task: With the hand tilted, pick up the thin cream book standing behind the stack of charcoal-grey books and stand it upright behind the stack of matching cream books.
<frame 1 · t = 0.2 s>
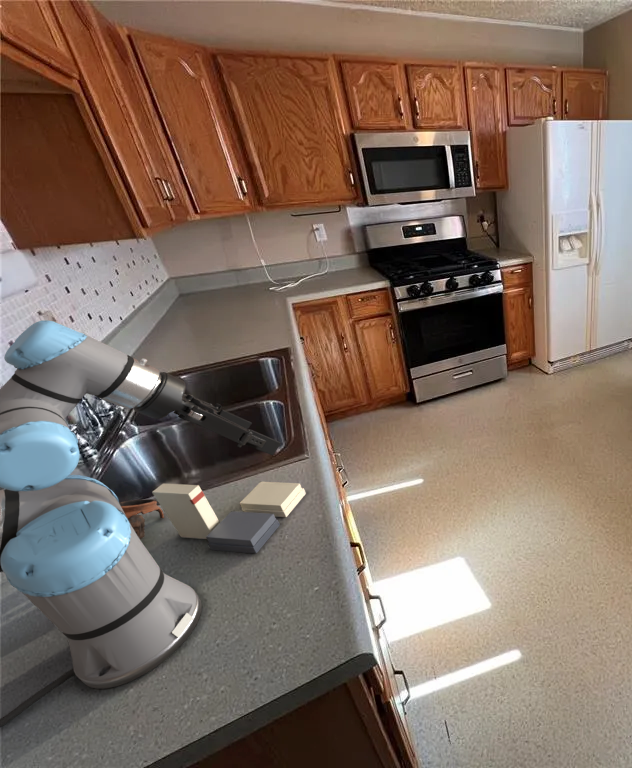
hand: (261, 438, 85), 15 cm above the worktop, tool tilted 35°, fingers open, 13 cm apart
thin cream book: (202, 533, 83), on the worktop
cream books: (275, 503, 89), on the worktop
brown footed bowl: (139, 534, 85), on the worktop
grey books: (246, 537, 82), on the worktop
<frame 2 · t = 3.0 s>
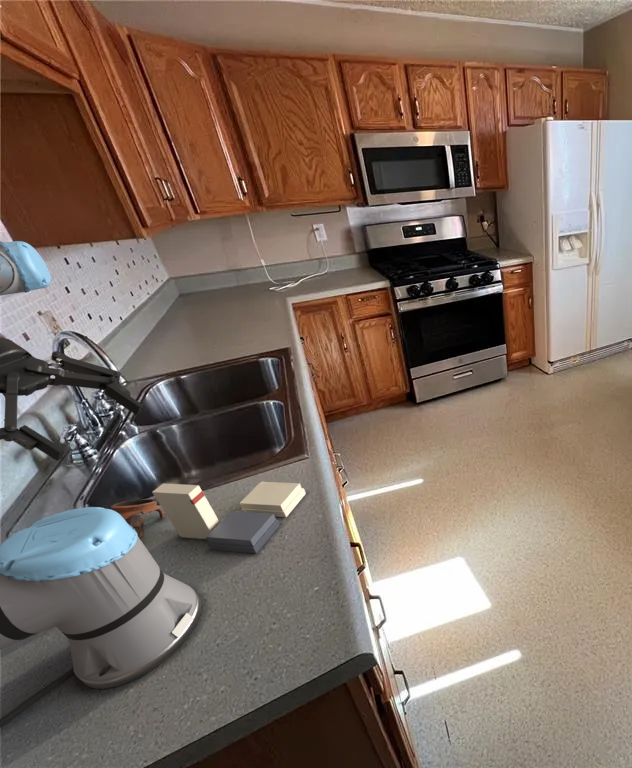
hand: (103, 431, 73), 25 cm above the worktop, tool tilted 45°, fingers open, 13 cm apart
nothing on the worktop moved.
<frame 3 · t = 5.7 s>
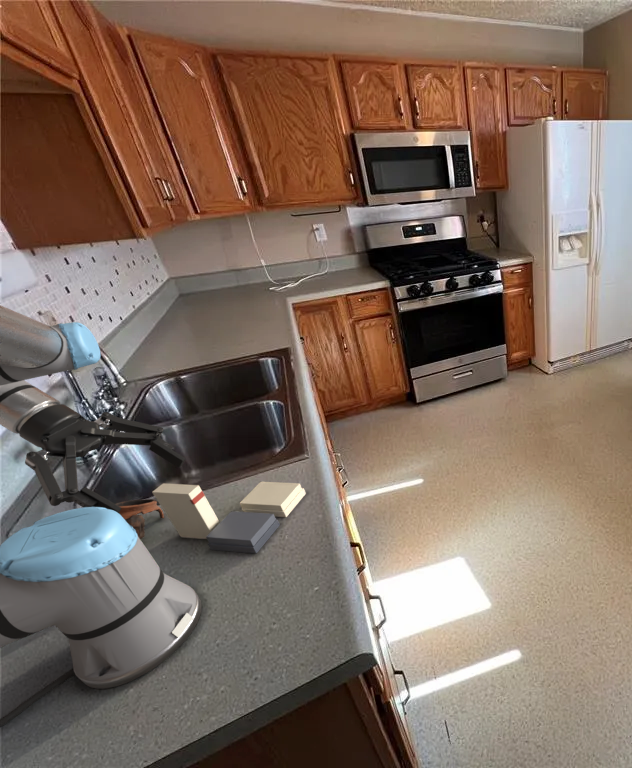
hand: (152, 486, 79), 12 cm above the worktop, tool tilted 45°, fingers open, 13 cm apart
nothing on the worktop moved.
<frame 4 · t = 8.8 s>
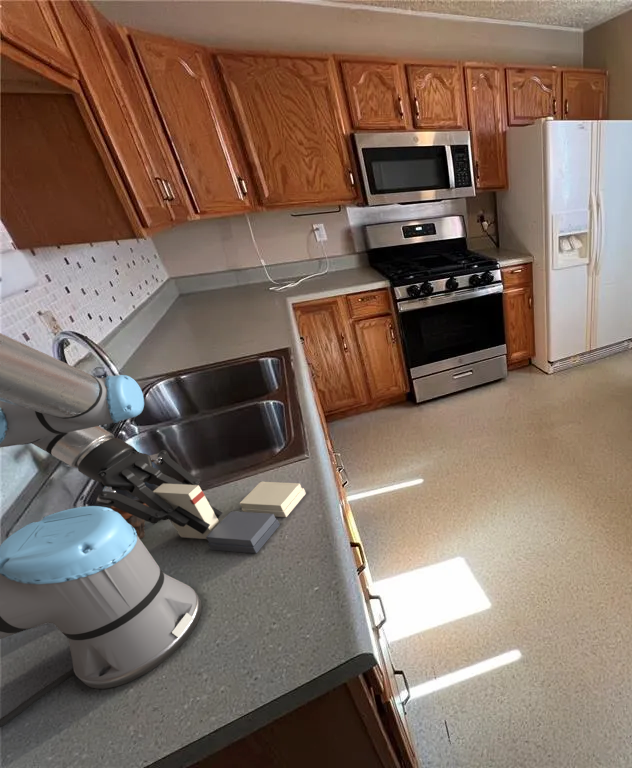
hand: (212, 523, 81), 3 cm above the worktop, tool tilted 45°, fingers closed on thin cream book, 2 cm apart
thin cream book: (202, 533, 83), on the worktop, touching gripper
everything else where it was.
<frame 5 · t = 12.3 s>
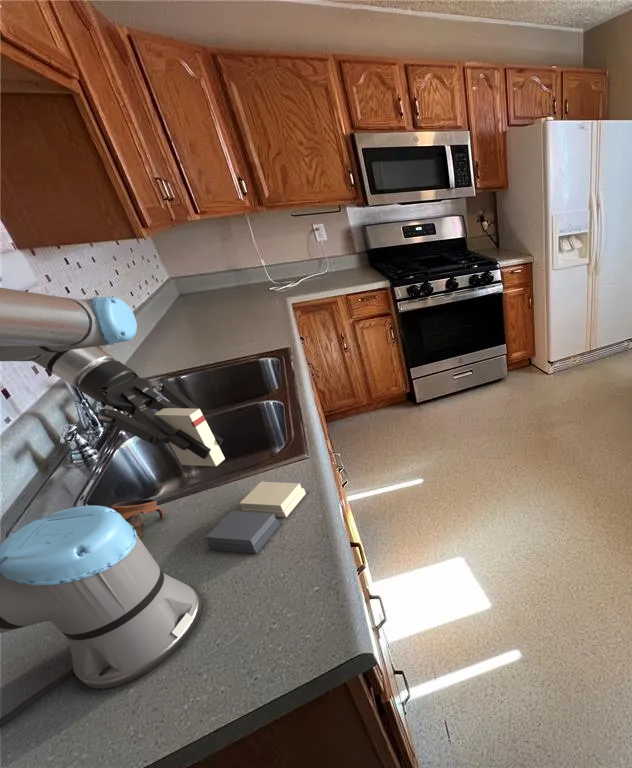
hand: (213, 449, 81), 16 cm above the worktop, tool tilted 45°, fingers closed on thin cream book, 2 cm apart
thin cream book: (203, 461, 83), point 13 cm above the worktop, touching gripper
everything else where it was.
when the fingers open (3 cm above the worktop, at t = 16.0 s): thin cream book stays where it is, on the worktop.
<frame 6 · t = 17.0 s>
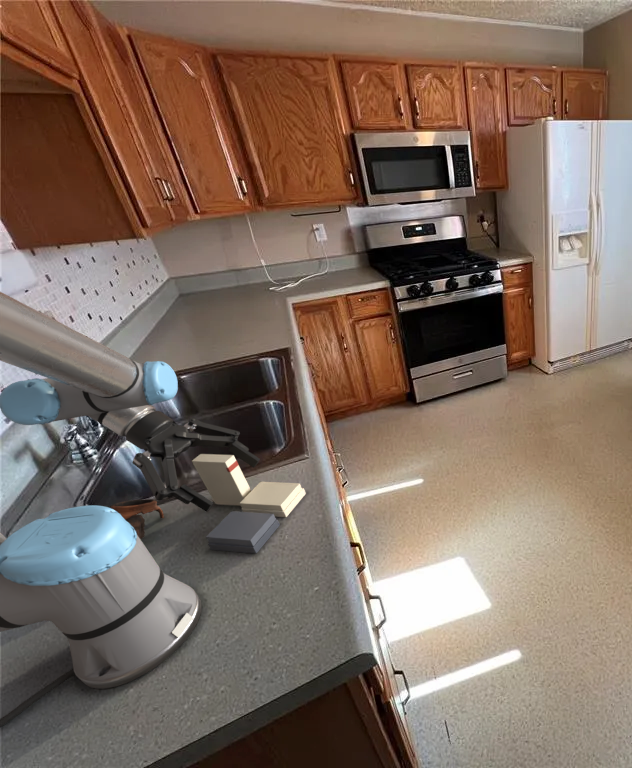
hand: (235, 484, 88), 5 cm above the worktop, tool tilted 45°, fingers open, 13 cm apart
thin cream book: (235, 501, 91), on the worktop
everything else where it was.
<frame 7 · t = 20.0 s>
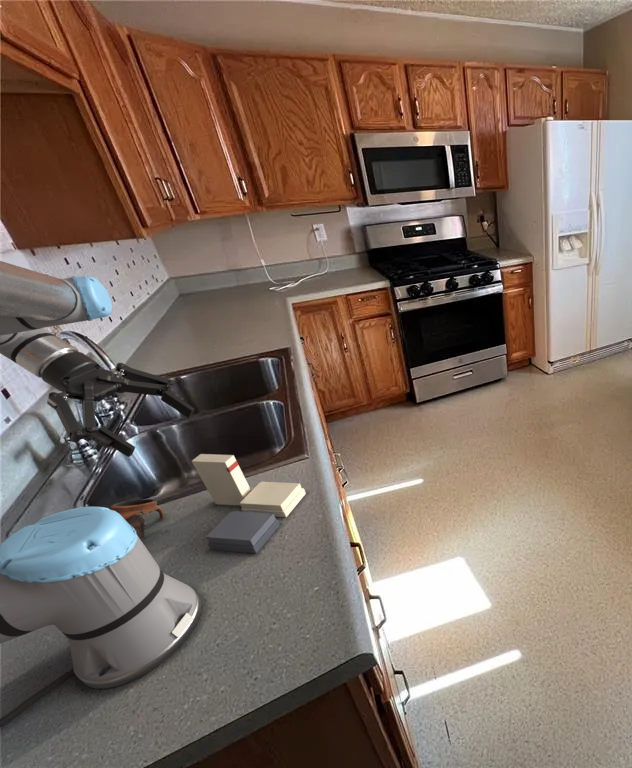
hand: (164, 431, 84), 18 cm above the worktop, tool tilted 45°, fingers open, 13 cm apart
nothing on the worktop moved.
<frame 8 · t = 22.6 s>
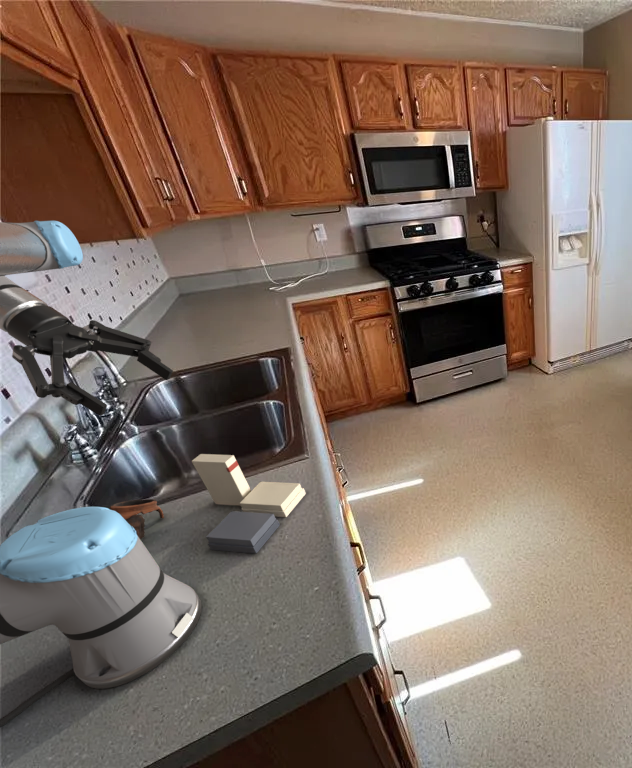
hand: (139, 391, 80), 28 cm above the worktop, tool tilted 45°, fingers open, 13 cm apart
nothing on the worktop moved.
at the end: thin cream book 0.1 cm from the target spot, on the worktop; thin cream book 10.1 cm from the cream books (horizontally); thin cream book tilted 0° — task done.
